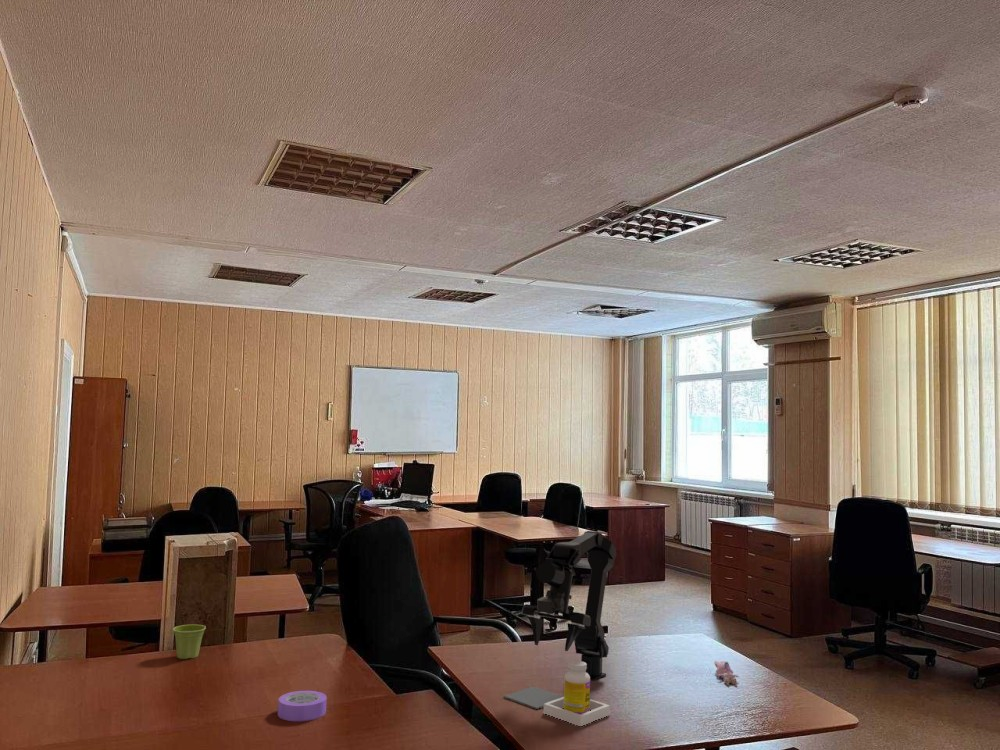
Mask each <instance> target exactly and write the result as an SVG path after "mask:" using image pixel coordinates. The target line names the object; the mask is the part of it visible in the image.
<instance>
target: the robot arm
mask: <svg viewBox="0 0 1000 750" xmlns="http://www.w3.org/2000/svg"><path fill="white" fill-rule="evenodd" d="M585 553H586V554H587V563H588V566H589V567H590V578H589V585H588V592H587V596H586V597H587V598H586V606H585V611H584V613H582V612H576V611H571V612H570V610H569V604H570V603H569V601H570V600H572V597H573V596H572V595H571V589H572V584H573V576H576V572H575V570H574V569H573V567H575V566H577V564H578V563H579V562H580V561H581V560H582V558H581V557H582V555H584V554H585ZM616 558H617V548H616V547H615V545H614V543H613V541H611V540H610V539H608V538H607V537H605V536H604V535H603V533H602V532H600V531H594V530H592V531H591V530H586V531H584V532H583V534H581V535H580V536H579V535H578V537H576V538H574V539H572V540H570V541H562V542H557V543H555V544H554V545H553V547H551V549H550V551H549V553H548V554H547V556H546V557H545V558H544V561H543V562H541V563H540V564H539V565H538V567H537V568H536V571H535V573H536V574H535V575H536V578H537V580H538V581H539V582H540V583H542V584H545V585H548V586H549V590H548V589H547V590H546V595H545V596H541V597H539V598H537V601H536V603H537V604H536V605H533V604H528V603H527V604H526V603H525V605H523V607H522V610H521V615H524V616H525V618H526V619H528V621H529V623H530V626H531V629H532V635H533V642H534V645H536V646H538V645H539V642H540V640H541V633H542V629H543V625H544V619H541V618H542V617H546V618H551V619H557V620H558V619H559V620H563V621H569V622H570V623H566V624H567V634H566V639H565V644H564V651H566V652H568V651H569V650H570V648H571V647H572V645H573V643H574V646H575V647H574V649H575V653H576V654H579V655H581V658H580V661H583V662H585V663H586V664H587V669H586V673H588V674H589V676H590V680H598V679H599V678H602V677H603V678H604V677H606V676H607V673H606V672H603V658H608V655H609V649H610V648H609V646H608V643H607V641H606V639H605V630H604V627H603V625H602V621H601V618H602V612H603V604H604V597H605V590H606V583H607V577H608V573H609V572H610V570H611V569H612V568H613V567H614V564H615V559H616ZM560 614H561V615H560Z"/></svg>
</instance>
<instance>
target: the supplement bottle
mask: <svg viewBox="0 0 1000 750" xmlns="http://www.w3.org/2000/svg"><path fill="white" fill-rule="evenodd" d="M567 667H568V671H567V672H565V673H564V676H563V677H564V680H563V681H564V682H563V685H564V686H563V696H564V709H565V710H568V711H571V712H574V713H577V714H580V715H581V714H583V713H586V712H588V711H590V699H591V679H590V676H589V674H588V673H586V669H587V664H586V663H585V662H583V661H581V660H570V661H568V666H567Z"/></svg>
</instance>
